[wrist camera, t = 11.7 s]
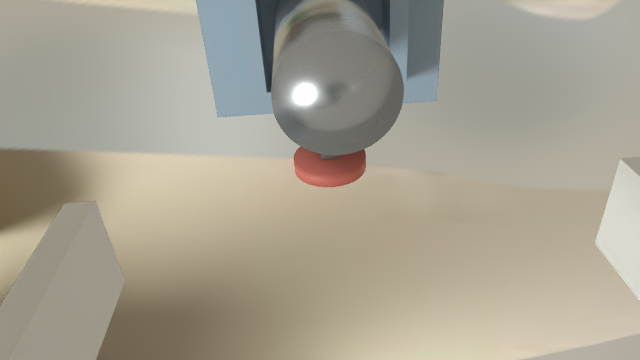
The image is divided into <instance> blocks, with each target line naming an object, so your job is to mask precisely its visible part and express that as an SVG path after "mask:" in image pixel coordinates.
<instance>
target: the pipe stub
mask: <svg viewBox="0 0 640 360" xmlns="http://www.w3.org/2000/svg"><path fill="white" fill-rule="evenodd" d="M403 96H404V84H403V78H402V74H401V71H400V68H399V66H398V64H397V62H396V60H395V58H394V57H393V55H392V53H391V51H390V49H389V47H388V46H387V44H386V42H385V40H384V38H383V37H382V35H381V33H380V31H379V29H378V27H377V26H376V24H375V22H374V20H373V18H372V17H371V15H370V13H369V11H368V9H367V7H366V6H365V4H364V2H363V0H278V2H277V7H276V19H275V36H274V53H273V70H272V87H271V102H272V108H273V112H274V115H275V118H276V120H277V122H278V124H279V125H280V127H281V128H282V130H283V131H284V132H285V134H286V135H287V136H288V137H289V138H290V139H291V140H293V141H294V142H295V143H297V144H298V145H300V146H301V147H303V148H305V149H307V150H309V151H312V152H315V153H319V154H324V155H345V154H350V153H354V152H358V151H360V150H363V149H365V148H367V147H369V146H371V145H372V144H374V143H375V142H377V141H378V140H379V139H381V138H382V137H383V136H384V135H385V134H386V133H387V132H388V131H389V130H390V128H391V127H392V126H393V124H394V123H395V121H396V119H397V117H398V115H399V113H400V110H401V106H402V103H403Z"/></svg>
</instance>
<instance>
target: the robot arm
mask: <svg viewBox="0 0 640 360" xmlns="http://www.w3.org/2000/svg"><path fill="white" fill-rule="evenodd" d="M595 244H596V245H597V247H598V248H599V249H600V250H601V252H602V253H603V254H604V256H605V257H606V258H607V259H608V261H609V262H610V263H611V265H612V266H613V267H614V268H615V270H616V271H617V272H618V274H619V275H620V276H621V277H622V279H623V280H624V281H625V283H626V284H627V285H628V286H629V288H630V289H631V290H632V292H633V293H634V294H635V295H636V297H637V298H638V299H639V301H640V157H636V158H623V159H620V162H619V165H618V168H617V172H616V175H615V178H614V182H613V185H612V188H611V192H610V195H609V198H608V202H607V205H606V208H605V212H604V215H603V218H602V221H601V225H600V228H599V231H598V235H597V238H596V241H595ZM124 283H125V280H124V278H123V275H122V272H121V269H120V267H119V264H118V261H117V258H116V256H115V253H114V250H113V248H112V245H111V242H110V239H109V237H108V234H107V231H106V228H105V226H104V223H103V220H102V218H101V215H100V212H99V209H98V207H97V204H96V201H85V202H73V203H64V204H63V206H62V208H61V209H60V211H59V212H58V214H57V216H56V217H55V219H54V220H53V222H52V224H51V225H50V227H49V228H48V230H47V232H46V233H45V235H44V236H43V238H42V240H41V241H40V243H39V244H38V246H37V248H36V249H35V251H34V252H33V254H32V256H31V257H30V259H29V260H28V262H27V264H26V265H25V267H24V268H23V270H22V272H21V273H20V275H19V276H18V278H17V280H16V281H15V283H14V284H13V286H12V288H11V289H10V291H9V292H8V294H7V296H6V297H5V299H4V300H3V302H2V303H1V305H0V360H96V359H97V356H98V353H99V350H100V348H101V345H102V342H103V340H104V337H105V334H106V332H107V329H108V326H109V324H110V321H111V318H112V316H113V313H114V310H115V308H116V305H117V302H118V299H119V297H120V294H121V291H122V289H123V286H124Z"/></svg>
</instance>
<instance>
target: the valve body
mask: <svg viewBox="0 0 640 360" xmlns="http://www.w3.org/2000/svg"><path fill="white" fill-rule="evenodd" d="M277 2H278V0H196V3H197V8H198V14H199V19H200V24H201V30H202V35H203V40H204V46H205V51H206V56H207V62H208V67H209V72H210V78H211V83H212V89H213V94H214V99H215V104H216V109H217V115H218V117H230V116H242V115H256V114H268V113H274V112H273V108H272V102H271V87H272V70H273V53H274V36H275V19H276V7H277ZM363 2H364V4H365V6H366V7H367V9H368V11H369V13H370V15H371V17H372V18H373V20H374V22H375V24H376V26H377V27H378V29H379V31H380V33H381V35H382V37H383V38H384V40H385V42H386V44H387V46H388V47H389V49H390V51H391V53H392V55H393V57H394V58H395V60H396V62H397V64H398V66H399V68H400V71H401V74H402V78H403V84H404V96H403V103H411V102H424V101H425V102H426V101H436V99H437V87H438V72H439V58H440V44H441V30H442V16H443V0H363ZM294 165H295V173H296V175H297V177H298V178H299V179H300V180H302V181H303V182H305V183H307V184H310V185H313V186H319V187H336V186H342V185H346V184H349V183H351V182H353V181H355V180H357V179H358V178H360V177H361V176H362V175H363V173H364V172H365V168H366V155H365V150H364V149H363V150H360V151H358V152H354V153H350V154H345V155H324V154H319V153H315V152H312V151H309V150H307V149H305V148H303V147H300V148H299V149H298V150H297V151H296V152H295V154H294Z"/></svg>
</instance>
